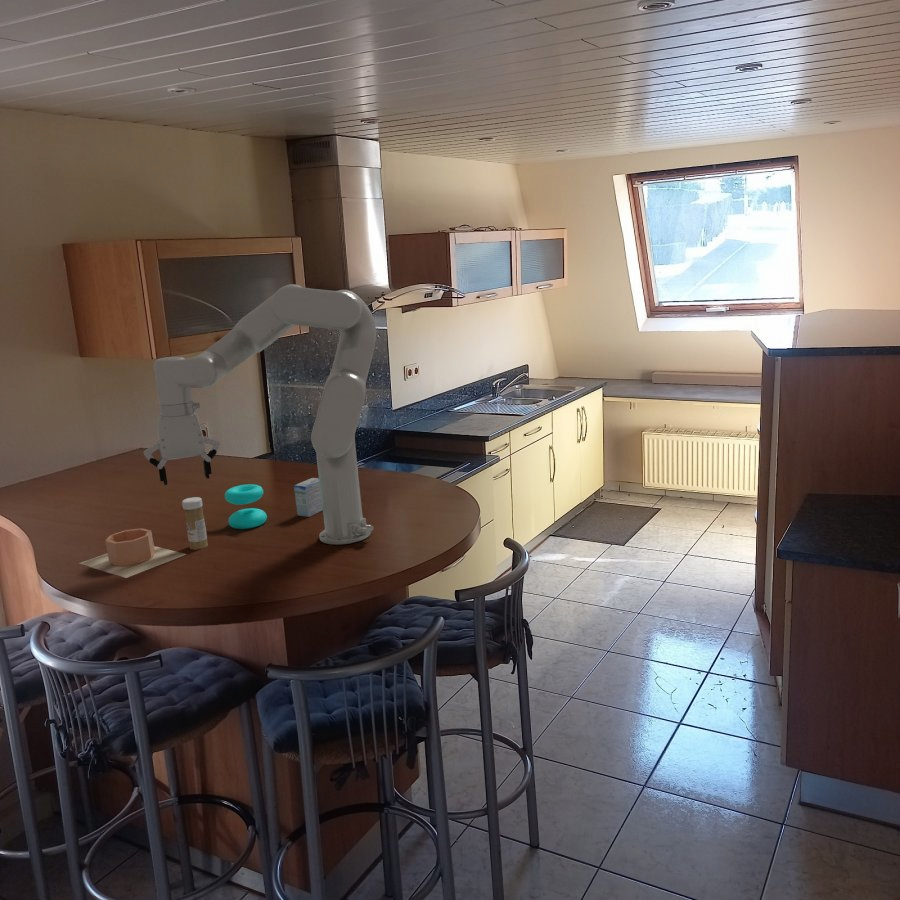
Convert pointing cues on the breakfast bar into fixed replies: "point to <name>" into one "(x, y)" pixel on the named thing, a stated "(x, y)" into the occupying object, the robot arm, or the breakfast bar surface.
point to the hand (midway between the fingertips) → (186, 480)
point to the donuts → (245, 516)
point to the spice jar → (195, 523)
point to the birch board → (127, 571)
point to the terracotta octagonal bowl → (130, 547)
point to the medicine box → (308, 497)
